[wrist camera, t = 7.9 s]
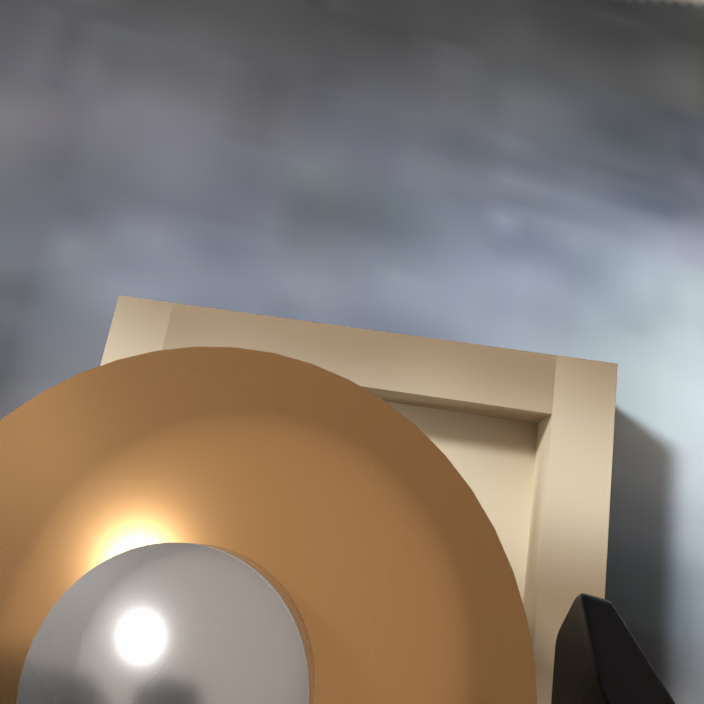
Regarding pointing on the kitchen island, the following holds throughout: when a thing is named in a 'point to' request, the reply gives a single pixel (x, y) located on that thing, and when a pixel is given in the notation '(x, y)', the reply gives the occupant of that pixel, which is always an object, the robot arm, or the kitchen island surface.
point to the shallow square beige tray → (458, 432)
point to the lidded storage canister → (244, 545)
